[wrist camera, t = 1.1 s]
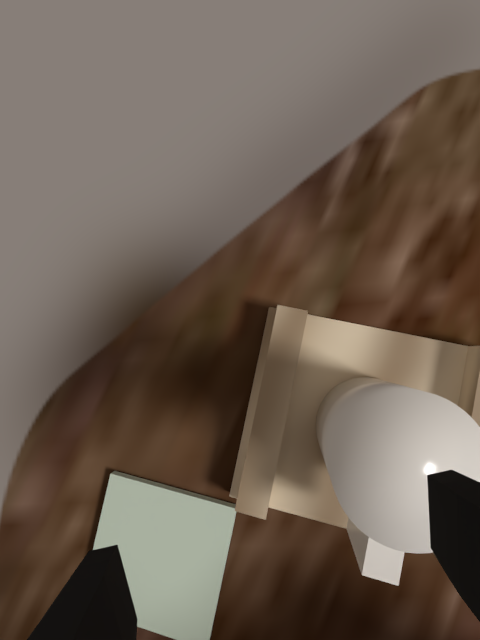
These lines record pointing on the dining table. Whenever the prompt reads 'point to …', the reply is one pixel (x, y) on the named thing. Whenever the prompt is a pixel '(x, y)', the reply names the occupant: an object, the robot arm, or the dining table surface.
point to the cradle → (309, 391)
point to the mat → (168, 552)
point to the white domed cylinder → (391, 464)
